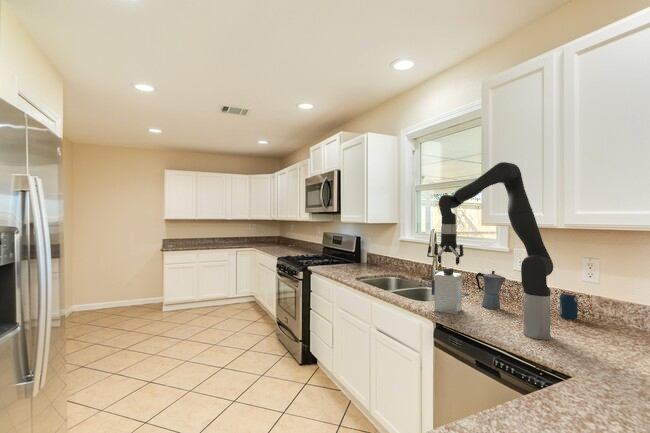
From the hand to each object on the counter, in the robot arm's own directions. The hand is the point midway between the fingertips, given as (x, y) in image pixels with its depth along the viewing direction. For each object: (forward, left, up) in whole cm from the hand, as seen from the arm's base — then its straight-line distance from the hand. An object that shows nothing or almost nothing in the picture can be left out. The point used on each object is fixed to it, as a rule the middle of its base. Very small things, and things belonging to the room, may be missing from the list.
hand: (448, 263), depth 167 cm
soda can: (-51, -21, -25) cm, 60 cm away
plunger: (0, 0, -23) cm, 23 cm away
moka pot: (-17, -20, -25) cm, 36 cm away
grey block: (+2, 0, -24) cm, 24 cm away
